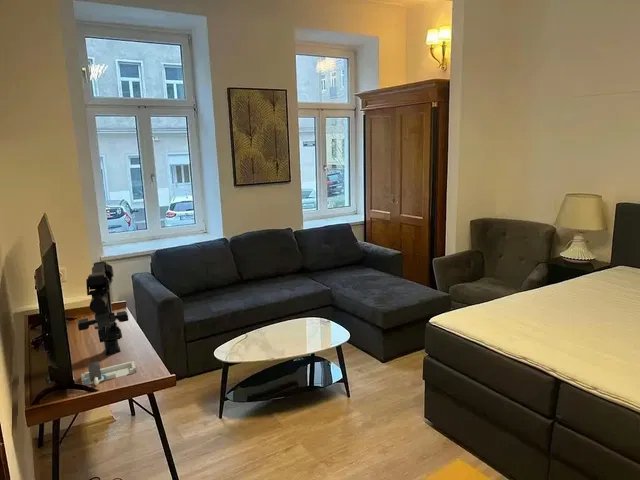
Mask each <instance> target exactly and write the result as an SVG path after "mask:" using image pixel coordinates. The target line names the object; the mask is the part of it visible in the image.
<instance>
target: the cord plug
mask: <svg viewBox="0 0 640 480" xmlns="http://www.w3.org/2000/svg"><path fill="white" fill-rule="evenodd" d="M87 367H88V372H89V375H90V381H94V383H93V384H94V385H95V386H98V385H99V382H98V380H99V379H102V378H101V371H100V369H101V367H100V360H98V361H93V362H90V363H89V362H88V363H87Z"/></svg>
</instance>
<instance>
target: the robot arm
mask: <svg viewBox="0 0 640 480" xmlns="http://www.w3.org/2000/svg"><path fill="white" fill-rule="evenodd" d="M114 273H115V272H114V269H113V266H112V265H111V264H109V263H108V262H107V261H104V260H103V261H97V262H94V263H93V267H92V268H91V273H90V274H88V276H87V278H86V280H85V282H86V295H87V296H91V300H90V303H89V310H90V311H91V312H93V313H94V319H91V320H89V318H88V317H87V318H82V319H78V320H77V329H78V331H86V330H88V329H89V328H90V326H93V327H94V330H97V334H98V339H99V343H101V344H102V343H103V345H104V349H103V351H104V356H109V355H114V354H118V353H121V352H122V350H121V347H120V346H119V340H121V339H122V338H123V334H122V329H121V328H120V326H118V323H117V322H116V321H118V322H119V323H123V322H128V321H129V315H128V313H127V312H128V311H126V310H122V311H118V312H116V313H115V312H113V308H112V298H111V297H112V296H111V286H112V283H113V278H114V275H115V274H114Z"/></svg>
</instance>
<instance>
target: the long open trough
mask: <svg viewBox="0 0 640 480" xmlns="http://www.w3.org/2000/svg"><path fill="white" fill-rule="evenodd" d="M100 371H101V378H102V379H99V380H98V383H100V382H103V381H104V382H106V381H108V380H112V379H115V378H120V377H123V376H127V375H131V374H136V373H137V367H136V364H135V361H134V360H132V361H128V362H123V363H119V364H115V365H111V366H106V367H102V368H100ZM80 375H81V385H85V386H89V385H91V384H95V383H94V381H90V375H89V371H85V372H82V373H80Z"/></svg>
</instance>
